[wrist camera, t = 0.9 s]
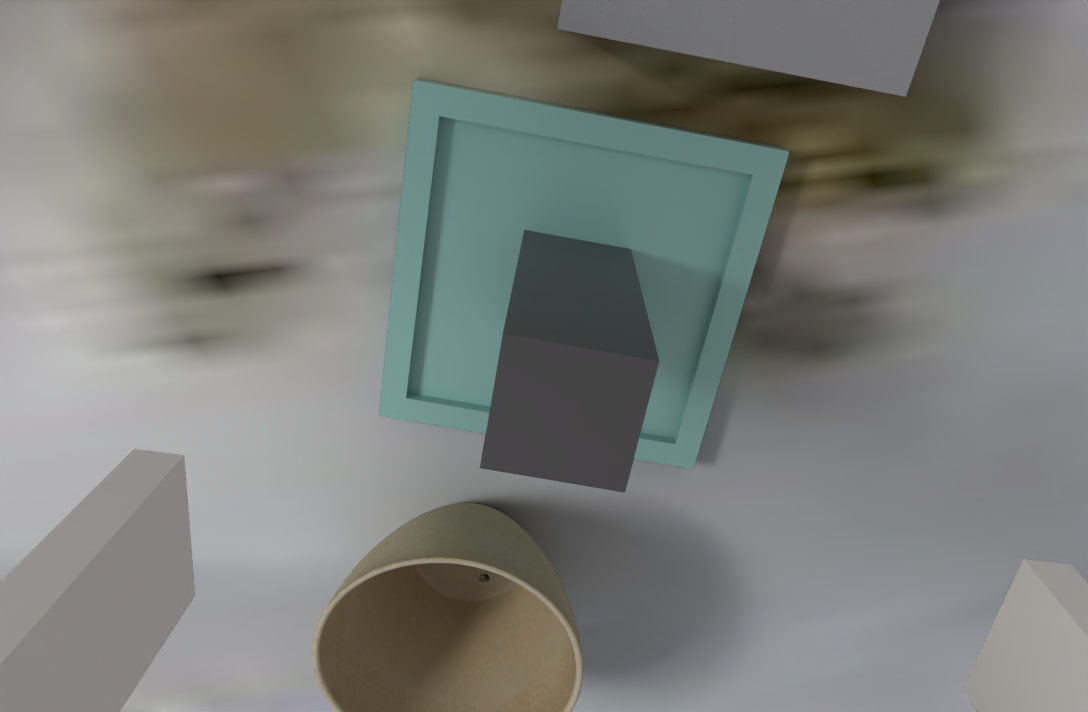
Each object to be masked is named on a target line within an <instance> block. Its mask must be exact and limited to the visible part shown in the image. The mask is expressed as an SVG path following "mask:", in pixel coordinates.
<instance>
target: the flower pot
mask: <svg viewBox="0 0 1088 712" xmlns="http://www.w3.org/2000/svg"><path fill="white" fill-rule="evenodd" d="M485 574H487V575H488V576H489V577H487V576H485ZM312 656H313V666H314V671H315V675H316V678H317V680H318V683H319V686H320V688H321V690H322V692H323V694H324V696H325V697H326V699H327V701H328V702H329V704H330V705H331V706H332V708H333V709H334V710H335V712H571V711H572V710H573V708H574V706H575V704H576V702H577V699H578V697H579V694H580V689H581V686H582V680H583V660H582V652H581V644H580V639H579V635H578V630H577V626H576V623H575V619H574V616H573V612H572V609H571V606H570V604H569V601H568V598H567V595H566V593H565V591H564V588H563V586H562V584H561V582H560V580H559V578H558V576H557V574H556V572H555V570H554V568H553V566H552V565H551V563H550V561H549V560H548V558H547V557H546V555H545V554H544V552H543V551H542V550H541V548H540V547H539V546H538V544H537V543H536V542H535V541H534V539H533V538H532V537H531V536H530V535H529V534H528V533H527V532H526V531H525V530H524V529H523V528H522V527H521V526H520V525H519V524H518V523H516V522H515V521H514V520H513V519H511V518H510V517H508V516H507V515H506V514H504V513H502V512H500V511H498V510H496V509H494V508H492V507H489V506H486V505H481V504H475V503H458V504H452V505H447V506H443V507H440V508H437V509H434V510H432V511H429V512H427V513H424V514H422V515H420V516H418V517H416V518H414V519H413V520H411V521H409V522H408V523H406V524H404V525H403V526H401V527H400V528H398V529H397V530H395V531H394V532H393V533H391V534H390V535H389V536H387V537H386V538H385V539H384V540H382V541H381V542H380V543H379V544H378V545H377V546H376V547H374V548H373V549H372V550H371V551H370V552H369V553H368V554H367V555H366V556H365V557H364V558H363V559H362V560H361V561H360V563H359V564H358V565H357V566H356V567H355V568H354V570H353V571H352V572H351V573H350V574H349V576H348V577H347V578H346V579H345V581H344V582H343V583H342V585H341V586H340V587H339V589H338V590H337V592H336V593H335V595H334V596H333V598H332V599H331V601H330V602H329V604H328V606H327V608H326V609H325V611H324V613H323V614H322V616H321V618H320V620H319V623H318V625H317V628H316V631H315V635H314V640H313V649H312Z"/></svg>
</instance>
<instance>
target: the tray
mask: <svg viewBox="0 0 1088 712" xmlns="http://www.w3.org/2000/svg"><path fill="white" fill-rule="evenodd" d="M789 152H790V151H788V150H787V149H785V148H783V147H779V146H774V145H768V144H763V143H758V142H753V141H747V140H742V139H737V138H732V137H726V136H721V135H716V134H711V133H705V132H700V131H695V130H690V129H684V128H679V127H674V126H669V125H663V124H658V123H653V122H648V121H642V120H637V119H632V118H627V117H621V116H616V115H611V114H605V113H600V112H595V111H590V110H584V109H579V108H574V107H569V106H563V105H558V104H553V103H548V102H542V101H537V100H532V99H527V98H521V97H516V96H511V95H506V94H500V93H495V92H490V91H485V90H479V89H474V88H469V87H464V86H458V85H453V84H448V83H442V82H437V81H432V80H427V79H421V78H417V79H415V80H413V88H412V98H411V107H410V117H409V127H408V137H407V146H406V156H405V166H404V175H403V185H402V195H401V205H400V214H399V224H398V234H397V244H396V253H395V263H394V273H393V282H392V292H391V302H390V312H389V321H388V331H387V341H386V351H385V360H384V370H383V380H382V389H381V399H380V409H379V416H383V417H389V418H395V419H401V420H407V421H413V422H419V423H424V424H430V425H436V426H442V427H448V428H454V429H460V430H465V431H471V432H477V433H483V434H486V430H487V424H488V418H489V412H490V406H491V400H492V394H493V388H494V382H495V376H496V371H497V365H498V359H499V353H500V347H501V341H502V335H503V330H504V325H505V320H506V316H507V311H508V306H509V301H510V296H511V291H512V287H513V282H514V277H515V272H516V267H517V262H518V257H519V253H520V248H521V243H522V238H523V233H524V230H529V231H534V232H540V233H545V234H551V235H556V236H562V237H567V238H573V239H578V240H584V241H589V242H595V243H600V244H606V245H611V246H617V247H622V248H628V249H631V251H632V255H633V259H634V263H635V267H636V271H637V275H638V279H639V283H640V287H641V291H642V295H643V299H644V302H645V306H646V310H647V314H648V318H649V322H650V326H651V330H652V334H653V338H654V342H655V346H656V350H657V354H658V358H659V365H658V369H657V373H656V376H655V380H654V384H653V388H652V391H651V395H650V399H649V403H648V407H647V410H646V414H645V418H644V422H643V425H642V429H641V433H640V437H639V441H638V444H637V448H636V452H635V456H634V459H636V460H642V461H648V462H653V463H659V464H665V465H671V466H677V467H683V468H689V469H694V465H695V462H696V459H697V455H698V452H699V449H700V446H701V442H702V439H703V436H704V432H705V429H706V426H707V422H708V419H709V416H710V413H711V409H712V406H713V403H714V399H715V396H716V393H717V390H718V386H719V383H720V380H721V376H722V373H723V370H724V366H725V363H726V360H727V357H728V353H729V350H730V347H731V343H732V340H733V337H734V333H735V330H736V327H737V324H738V320H739V317H740V314H741V310H742V307H743V304H744V301H745V297H746V294H747V291H748V287H749V284H750V281H751V277H752V274H753V271H754V268H755V264H756V261H757V258H758V254H759V251H760V248H761V244H762V241H763V238H764V235H765V231H766V228H767V225H768V221H769V218H770V215H771V212H772V208H773V205H774V202H775V198H776V195H777V192H778V188H779V185H780V182H781V179H782V175H783V172H784V169H785V165H786V162H787V159H788V155H789Z"/></svg>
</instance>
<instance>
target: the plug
mask: <svg viewBox="0 0 1088 712" xmlns="http://www.w3.org/2000/svg"><path fill="white" fill-rule="evenodd" d="M658 365H659V358H658V354H657V350H656V346H655V342H654V338H653V334H652V330H651V326H650V322H649V318H648V314H647V310H646V306H645V302H644V299H643V295H642V291H641V287H640V283H639V279H638V275H637V271H636V267H635V263H634V259H633V255H632V251H631V249H628V248H622V247H617V246H611V245H606V244H600V243H595V242H589V241H584V240H578V239H573V238H567V237H562V236H556V235H551V234H545V233H540V232H534V231H529V230H524V233H523V238H522V243H521V248H520V253H519V257H518V262H517V267H516V272H515V277H514V282H513V287H512V291H511V296H510V301H509V306H508V311H507V316H506V320H505V325H504V330H503V335H502V341H501V347H500V353H499V359H498V365H497V371H496V376H495V382H494V388H493V394H492V400H491V406H490V412H489V418H488V424H487V430H486V435H485V441H484V447H483V453H482V459H481V465H480V468H483V469H489V470H495V471H501V472H507V473H513V474H519V475H525V476H530V477H536V478H542V479H548V480H554V481H560V482H566V483H572V484H578V485H584V486H590V487H596V488H602V489H608V490H614V491H620V492H625V490H626V486H627V482H628V478H629V475H630V471H631V467H632V463H633V460H634V456H635V452H636V448H637V444H638V441H639V437H640V433H641V429H642V425H643V422H644V418H645V414H646V410H647V407H648V403H649V399H650V395H651V391H652V388H653V384H654V380H655V376H656V373H657V369H658Z"/></svg>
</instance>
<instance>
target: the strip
mask: <svg viewBox="0 0 1088 712" xmlns="http://www.w3.org/2000/svg"><path fill="white" fill-rule="evenodd" d="M939 2H940V0H562V4H561V10H560V15H559V21H558V27H557V29H560V30H565V31H570V32H575V33H581V34H586V35H591V36H596V37H601V38H606V39H611V40H617V41H622V42H627V43H632V44H637V45H642V46H647V47H653V48H658V49H663V50H668V51H673V52H678V53H683V54H689V55H694V56H699V57H704V58H709V59H714V60H719V61H725V62H730V63H735V64H740V65H745V66H750V67H755V68H760V69H766V70H771V71H776V72H781V73H786V74H791V75H796V76H802V77H807V78H812V79H817V80H822V81H827V82H832V83H838V84H843V85H848V86H853V87H858V88H863V89H868V90H874V91H879V92H884V93H889V94H894V95H899V96H904V97H906V95H907V92H908V89H909V86H910V84H911V81H912V78H913V75H914V72H915V70H916V67H917V64H918V61H919V58H920V55H921V53H922V50H923V47H924V44H925V41H926V38H927V36H928V33H929V30H930V27H931V24H932V22H933V19H934V16H935V13H936V10H937V7H938V5H939Z"/></svg>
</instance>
